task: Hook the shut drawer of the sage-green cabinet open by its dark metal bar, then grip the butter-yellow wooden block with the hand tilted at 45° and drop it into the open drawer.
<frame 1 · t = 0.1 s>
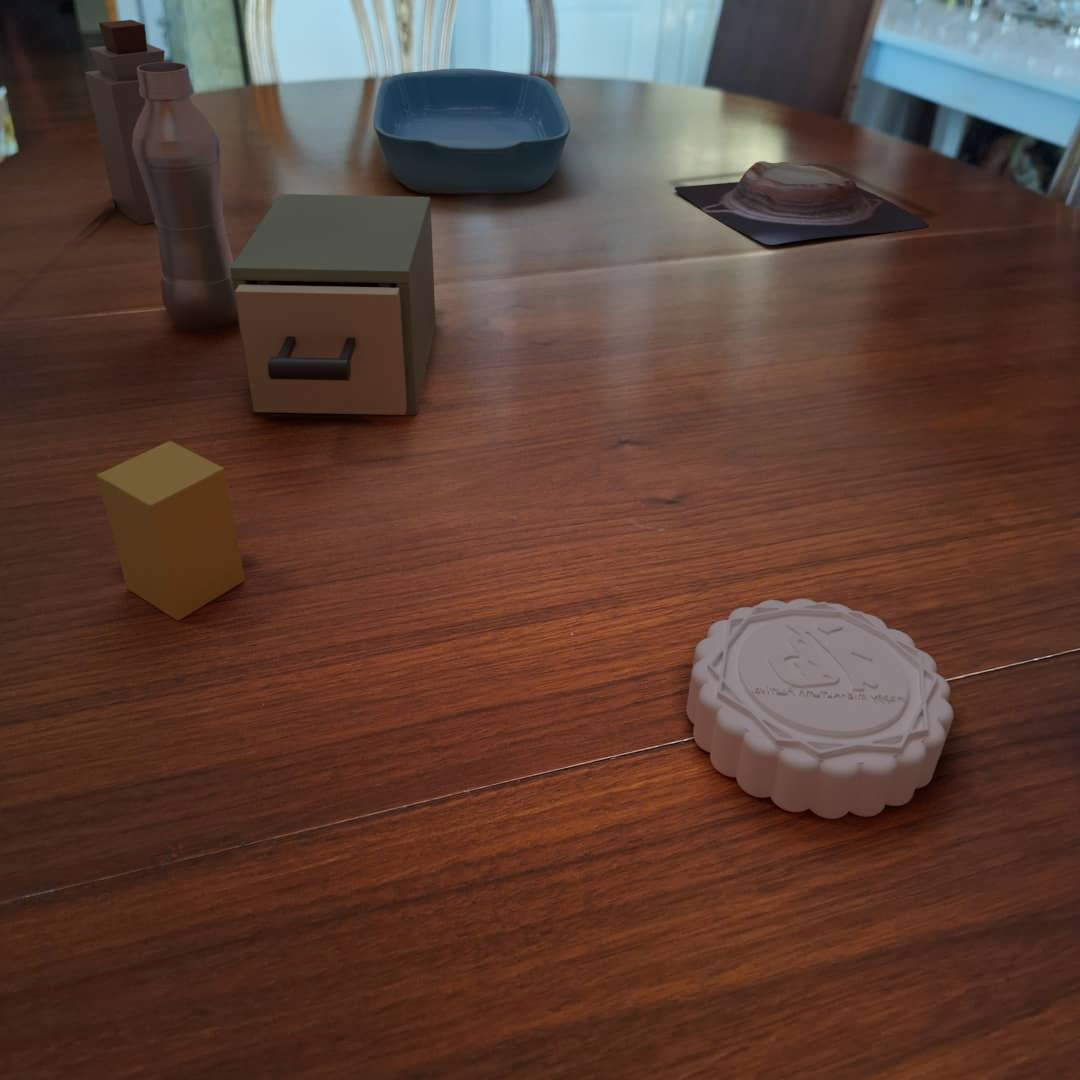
block: (186, 584, 58), on the table
casserole dish: (471, 162, 128), on the table
round mound on square: (796, 210, 115), on the table
plastic bottle: (209, 327, 87), on the table
perfume bottle: (158, 212, 110), on the table
drawer: (334, 326, 74), point 5 cm above the table, slide at 0.5 cm
mooncake: (809, 726, 50), on the table
cabinet: (351, 365, 81), on the table
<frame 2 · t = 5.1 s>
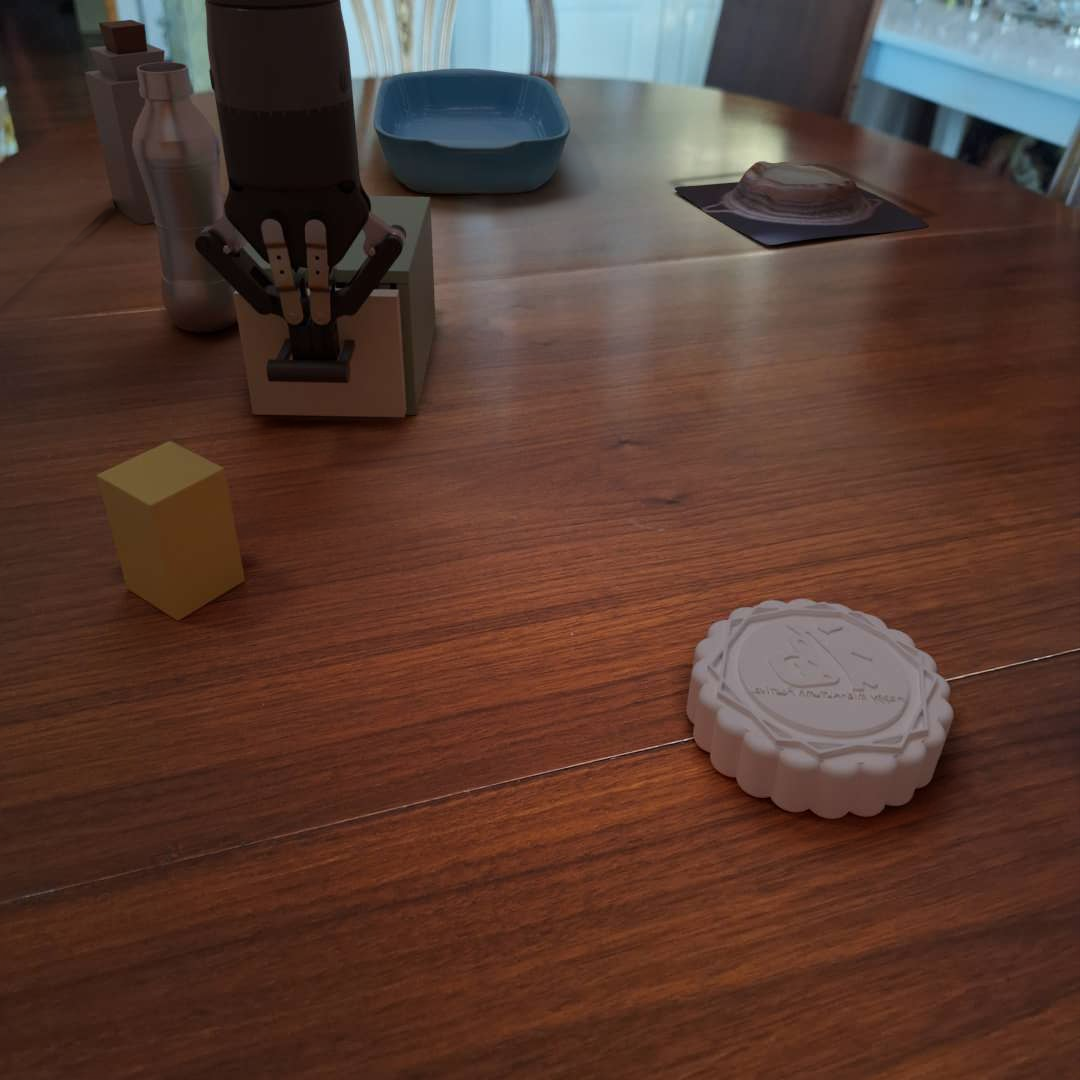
hand: (318, 371, 68), 6 cm above the table, tool pointing down, fingers closed
drawer: (334, 327, 74), point 5 cm above the table, slide at 0.8 cm, touching gripper
everything else where it was.
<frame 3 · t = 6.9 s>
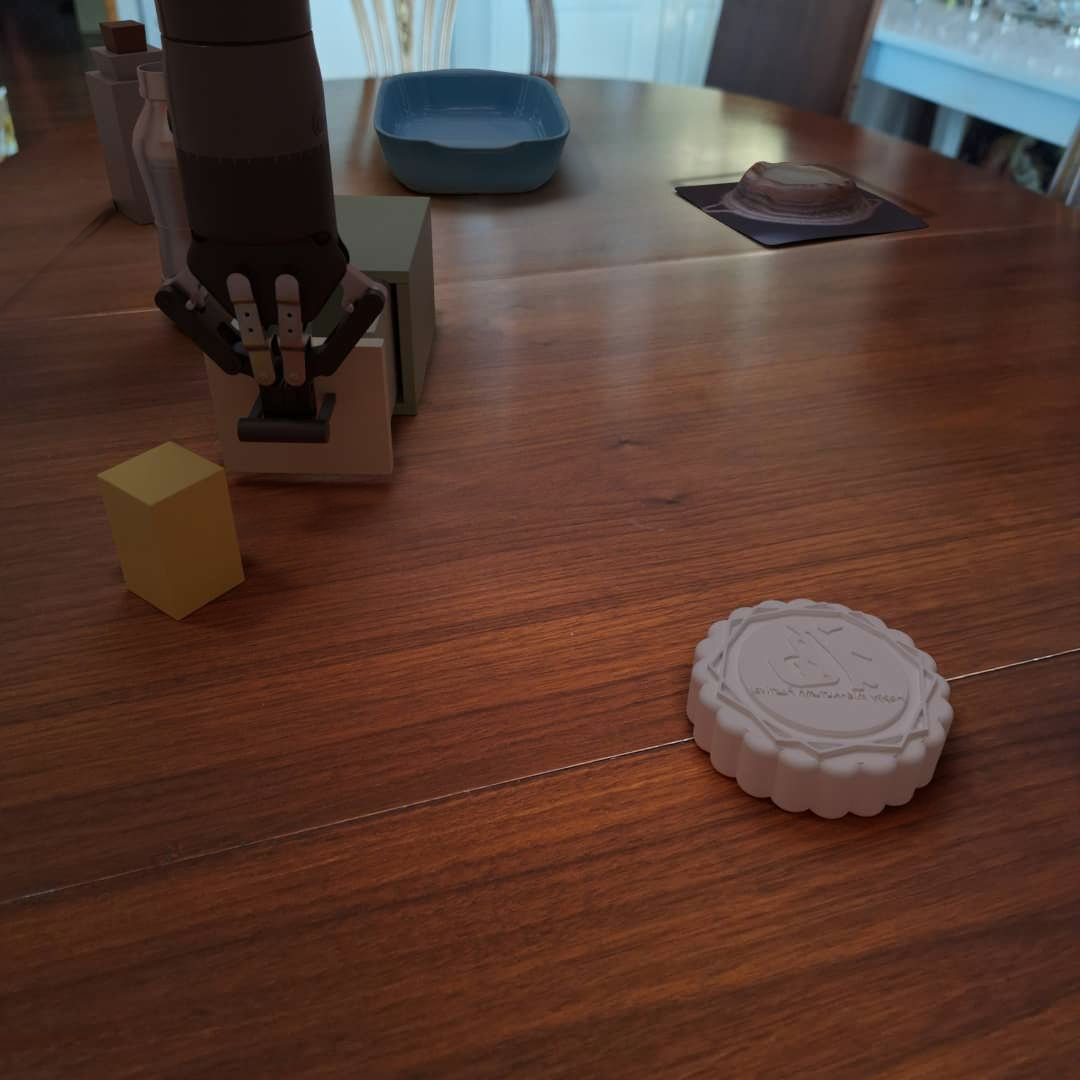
hand: (293, 433, 62), 5 cm above the table, tool pointing down, fingers closed
drawer: (314, 376, 68), point 5 cm above the table, slide at 8.5 cm, touching gripper
everything else where it was.
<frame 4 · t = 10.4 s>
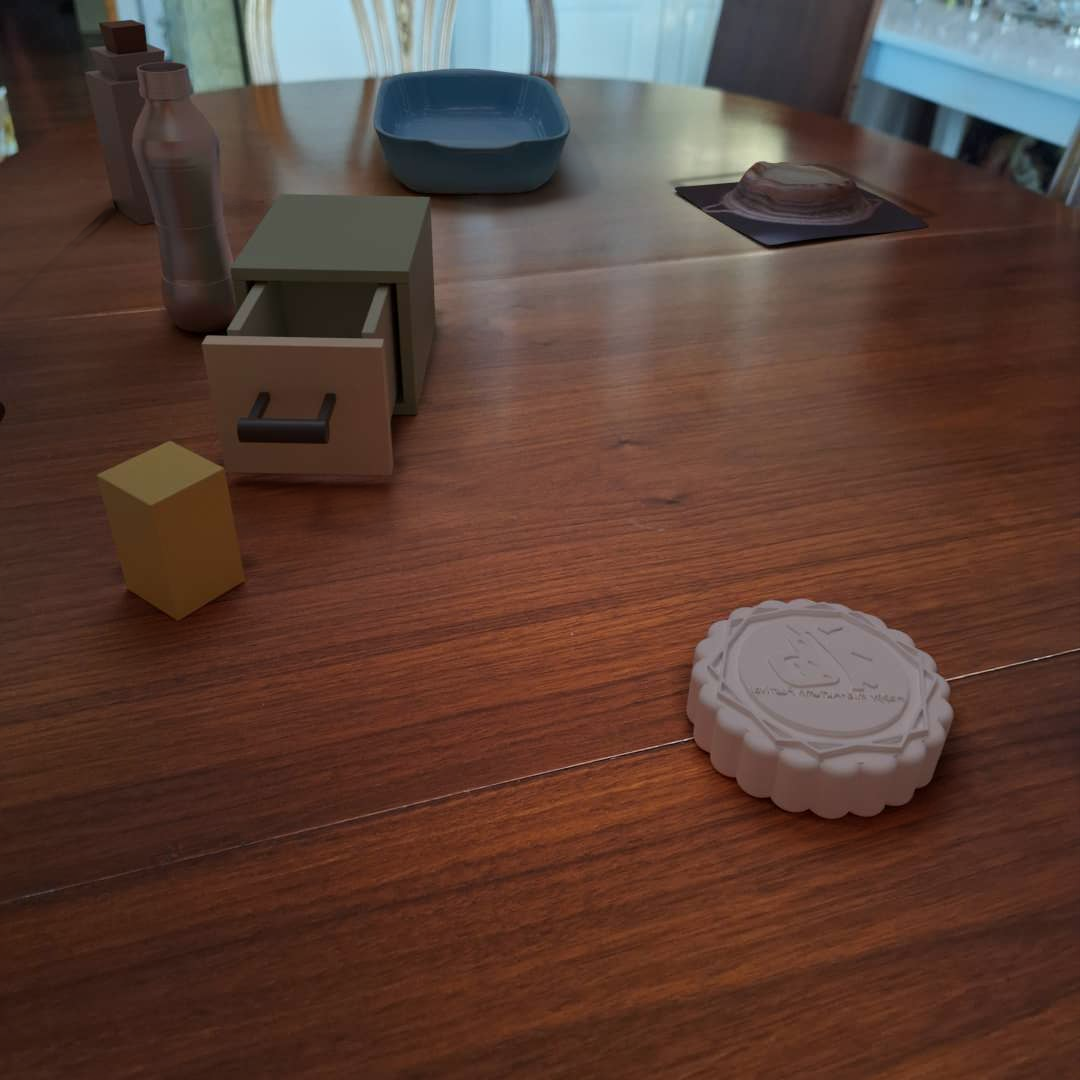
drawer: (314, 376, 67), point 5 cm above the table, slide at 8.5 cm
everything else where it was.
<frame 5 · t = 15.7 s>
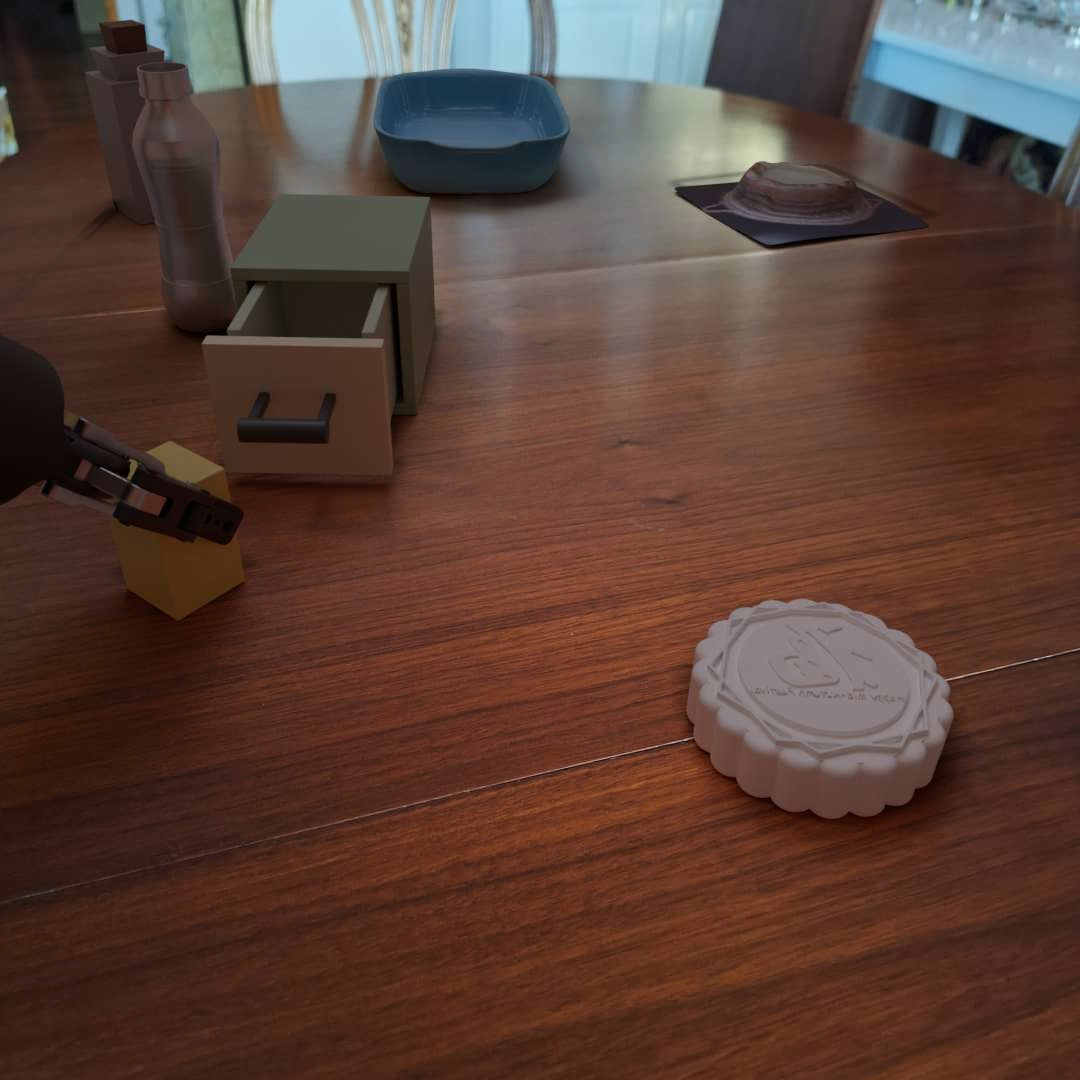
hand: (201, 509, 57), 4 cm above the table, tool tilted 45°, fingers closed on block, 4 cm apart
block: (186, 584, 58), on the table, touching gripper
everything else where it was.
when the fingers open (13 cm above the table, at t = 22.0 s): block drops 1 cm and tips over, resting on drawer.
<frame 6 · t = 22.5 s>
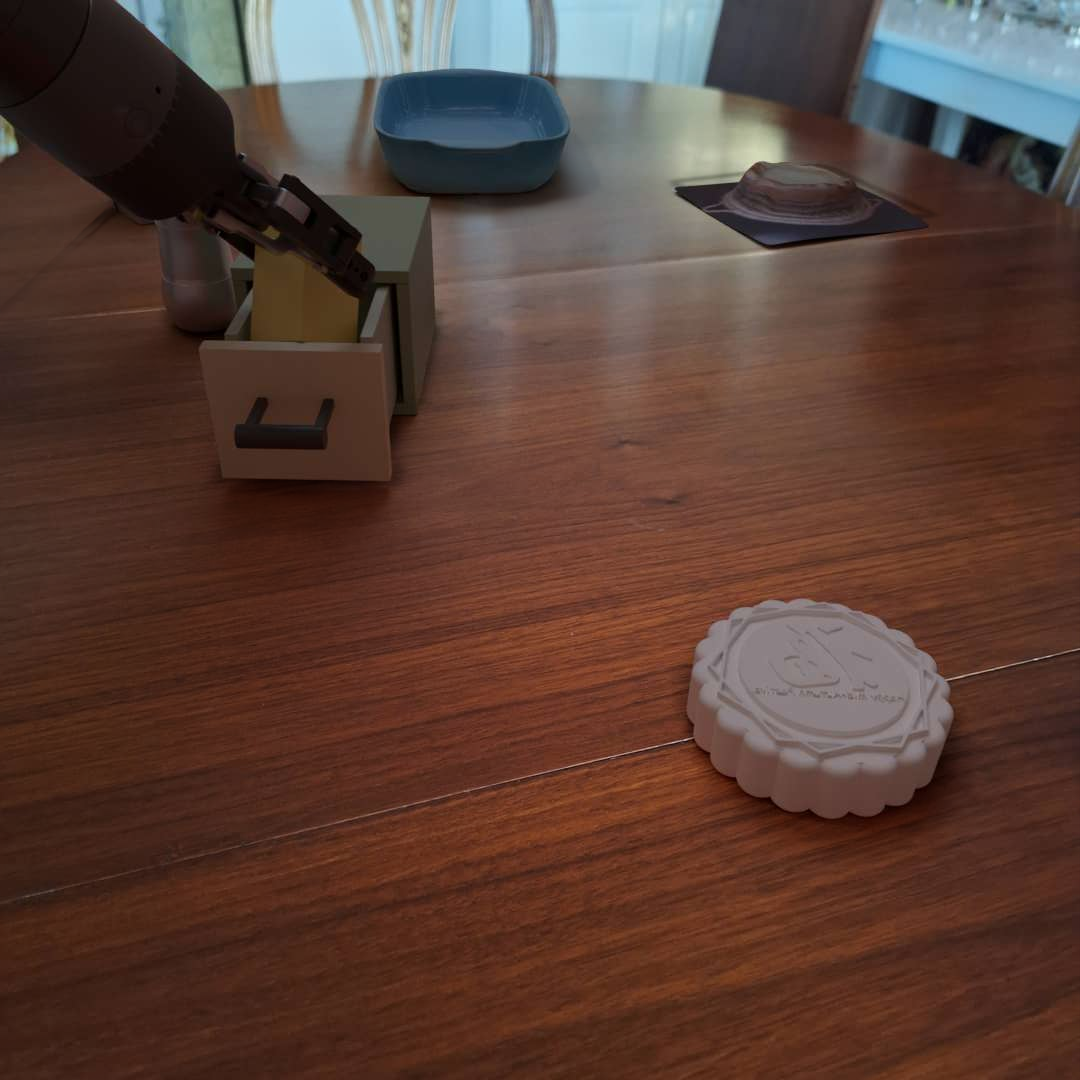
hand: (315, 266, 64), 13 cm above the table, tool tilted 45°, fingers open, 8 cm apart
block: (303, 349, 64), point 8 cm above the table, tilted 35°, touching drawer, gripper
drawer: (312, 381, 67), point 5 cm above the table, slide at 9.2 cm, touching block
everything else where it was.
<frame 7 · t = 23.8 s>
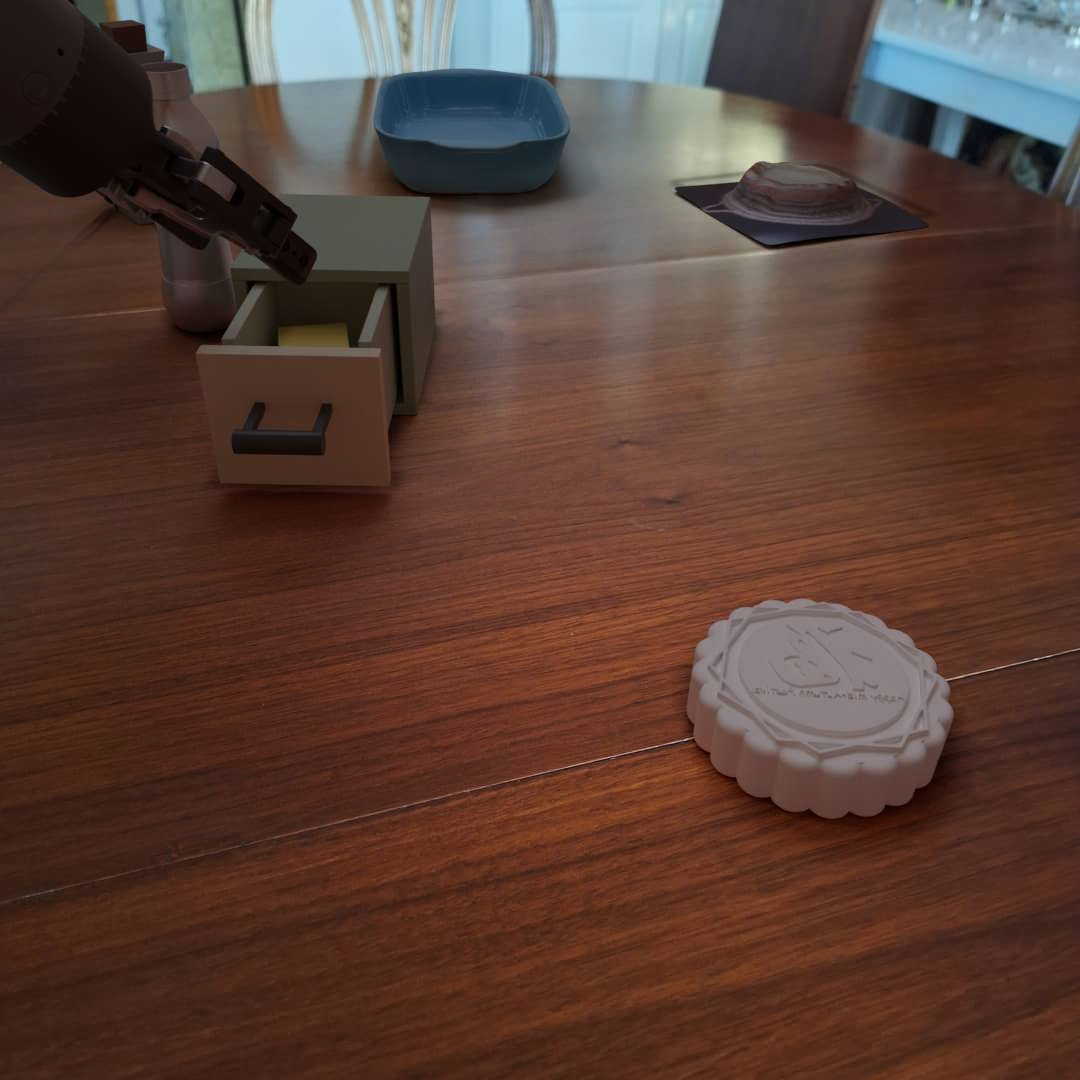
hand: (255, 251, 59), 15 cm above the table, tool tilted 45°, fingers open, 8 cm apart
block: (319, 405, 66), point 4 cm above the table, tilted 90°, touching drawer
drawer: (310, 385, 66), point 5 cm above the table, slide at 9.8 cm, touching block
everything else where it was.
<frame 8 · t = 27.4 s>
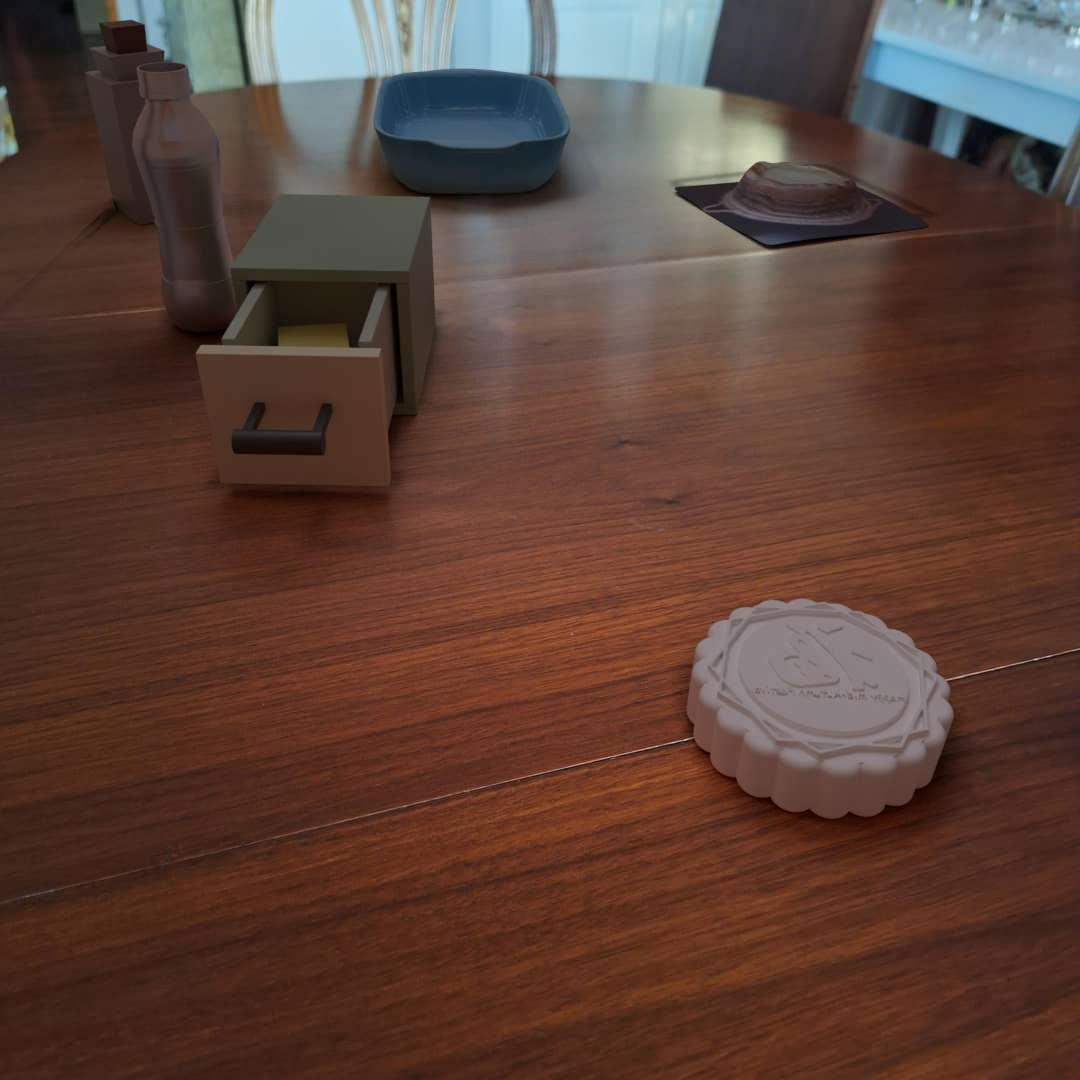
nothing on the table moved.
at the end: drawer slide at 9.8 cm; block inside the target area in the drawer (6.3 cm from its centre), point 4.4 cm above the cabinet's base; the gripper is holding nothing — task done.
